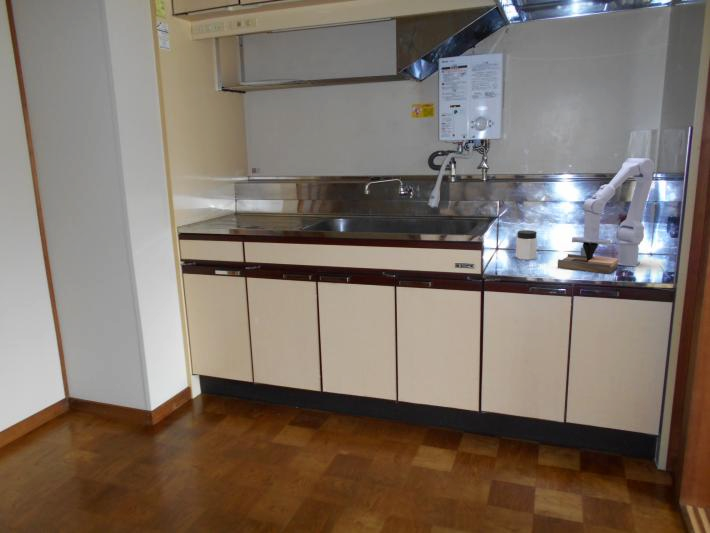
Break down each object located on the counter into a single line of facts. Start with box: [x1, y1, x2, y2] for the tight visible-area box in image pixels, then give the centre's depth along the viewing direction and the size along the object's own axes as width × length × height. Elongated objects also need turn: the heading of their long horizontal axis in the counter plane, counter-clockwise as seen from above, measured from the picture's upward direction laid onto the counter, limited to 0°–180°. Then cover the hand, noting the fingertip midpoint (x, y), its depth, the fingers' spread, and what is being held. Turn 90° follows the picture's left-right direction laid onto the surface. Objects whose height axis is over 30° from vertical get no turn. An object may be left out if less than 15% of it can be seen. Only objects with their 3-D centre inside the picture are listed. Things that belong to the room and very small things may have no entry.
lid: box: [588, 255, 619, 267], centre depth 224 cm, size 11×9×2 cm
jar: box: [515, 229, 538, 261], centre depth 248 cm, size 9×8×12 cm
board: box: [557, 253, 619, 275], centre depth 228 cm, size 14×20×4 cm
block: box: [580, 246, 586, 256], centre depth 240 cm, size 4×4×6 cm
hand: (589, 260), depth 227 cm, fingers closed
